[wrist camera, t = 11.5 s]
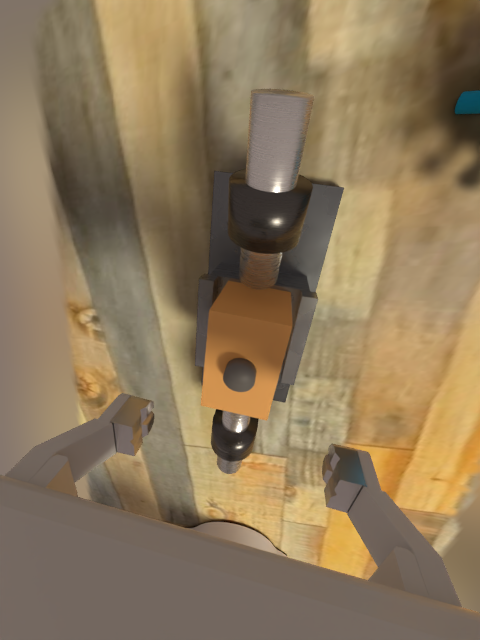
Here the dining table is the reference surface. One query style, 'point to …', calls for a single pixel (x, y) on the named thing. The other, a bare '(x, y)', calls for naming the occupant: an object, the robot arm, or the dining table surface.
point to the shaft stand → (267, 242)
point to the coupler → (245, 349)
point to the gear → (468, 103)
